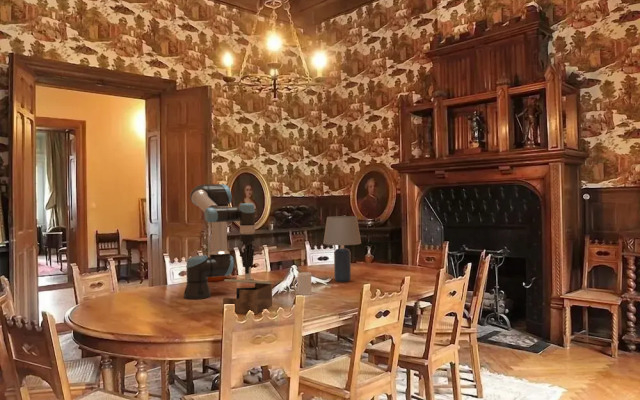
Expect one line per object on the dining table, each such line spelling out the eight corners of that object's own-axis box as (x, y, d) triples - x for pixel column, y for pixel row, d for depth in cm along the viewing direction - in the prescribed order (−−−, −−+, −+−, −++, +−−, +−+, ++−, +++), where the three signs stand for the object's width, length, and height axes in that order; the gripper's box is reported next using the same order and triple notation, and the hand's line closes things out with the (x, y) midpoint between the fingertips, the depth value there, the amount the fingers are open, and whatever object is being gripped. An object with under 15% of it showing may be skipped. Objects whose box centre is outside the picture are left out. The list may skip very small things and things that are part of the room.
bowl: (239, 278, 357) (239, 264, 357) (213, 284, 336) (213, 268, 336) (213, 275, 370) (212, 262, 370) (186, 281, 349) (186, 266, 349)
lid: (224, 281, 256) (224, 277, 256) (239, 282, 273) (240, 279, 273) (257, 282, 251) (257, 279, 251) (271, 284, 268) (271, 280, 268)
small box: (236, 311, 258) (236, 290, 257) (236, 308, 264) (236, 288, 264) (258, 309, 260) (257, 289, 260) (256, 307, 266) (256, 287, 266)
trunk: (223, 312, 255) (222, 289, 255) (240, 304, 274) (240, 282, 274) (256, 314, 249) (256, 291, 249) (272, 305, 269) (271, 283, 268)
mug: (296, 296, 292) (296, 275, 292) (289, 294, 300) (289, 273, 300) (314, 294, 298) (314, 273, 298) (307, 291, 306) (307, 271, 306)
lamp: (318, 279, 350) (318, 216, 349) (353, 277, 357) (352, 215, 357) (330, 285, 326) (330, 218, 325) (367, 283, 333) (366, 217, 333)
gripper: (248, 234, 254) (249, 282, 254) (259, 232, 266) (260, 277, 267) (235, 234, 256) (235, 281, 256) (246, 232, 268) (246, 277, 269)
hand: (248, 279), depth 261 cm, fingers closed
